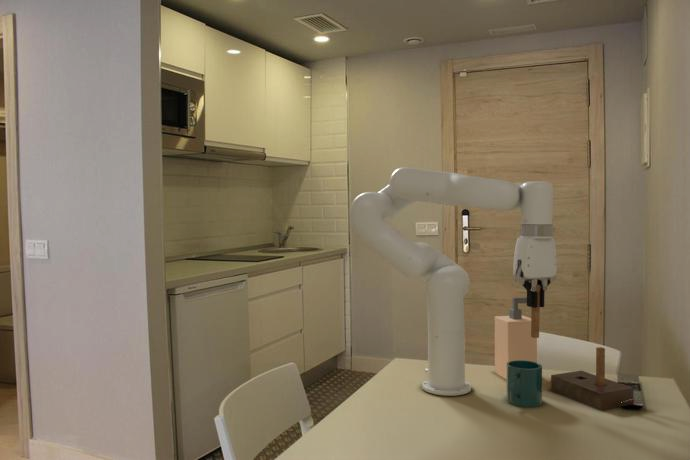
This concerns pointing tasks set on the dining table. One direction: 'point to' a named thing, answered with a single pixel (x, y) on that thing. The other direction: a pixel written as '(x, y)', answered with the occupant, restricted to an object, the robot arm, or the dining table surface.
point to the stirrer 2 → (600, 366)
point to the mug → (524, 383)
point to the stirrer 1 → (535, 316)
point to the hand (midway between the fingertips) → (535, 306)
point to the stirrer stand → (591, 390)
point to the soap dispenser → (513, 338)
